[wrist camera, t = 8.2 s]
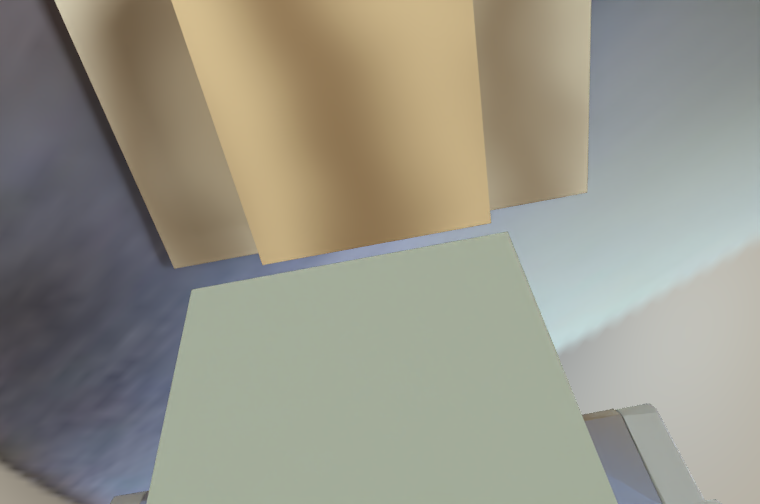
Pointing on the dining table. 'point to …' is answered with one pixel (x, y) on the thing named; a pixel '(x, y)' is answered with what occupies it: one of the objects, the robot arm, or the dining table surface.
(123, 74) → the foundation base
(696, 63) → the dining table surface
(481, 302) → the sage cube
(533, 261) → the dining table surface
